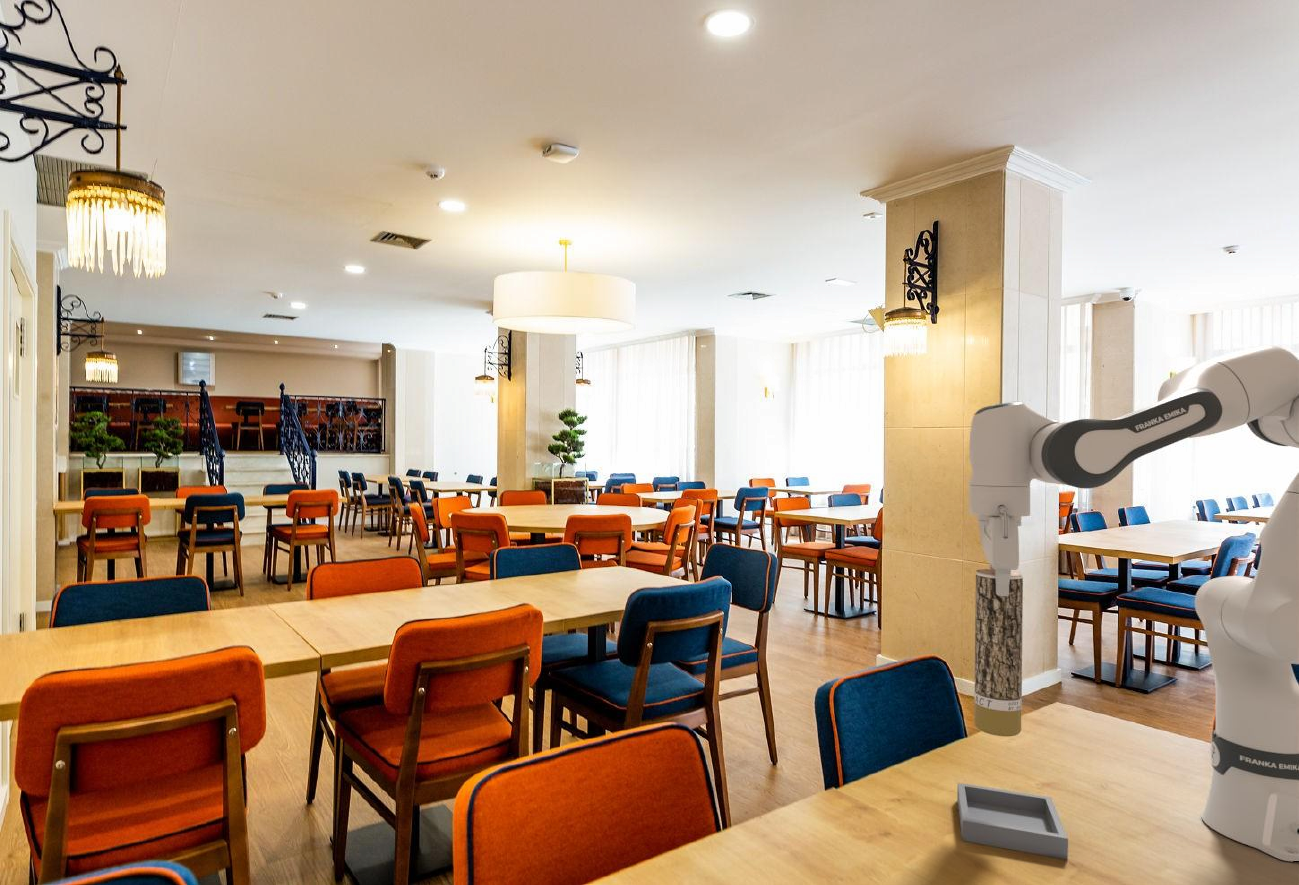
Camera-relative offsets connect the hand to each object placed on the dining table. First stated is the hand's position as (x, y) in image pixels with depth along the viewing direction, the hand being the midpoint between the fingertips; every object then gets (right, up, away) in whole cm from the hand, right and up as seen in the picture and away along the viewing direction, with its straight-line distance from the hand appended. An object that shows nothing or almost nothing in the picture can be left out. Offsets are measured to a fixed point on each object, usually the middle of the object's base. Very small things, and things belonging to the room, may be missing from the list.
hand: (999, 590), depth 120 cm
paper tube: (0, -22, 0) cm, 22 cm away
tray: (0, -36, -3) cm, 36 cm away
